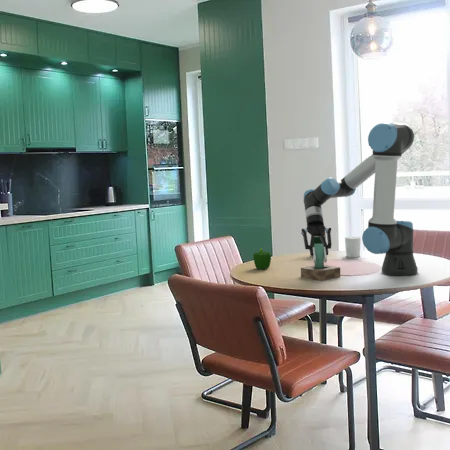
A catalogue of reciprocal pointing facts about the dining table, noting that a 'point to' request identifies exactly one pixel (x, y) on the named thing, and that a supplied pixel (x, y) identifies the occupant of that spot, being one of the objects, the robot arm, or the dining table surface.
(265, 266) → the bell pepper
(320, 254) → the peg
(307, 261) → the dining table surface
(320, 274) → the socket block
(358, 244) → the white cup
